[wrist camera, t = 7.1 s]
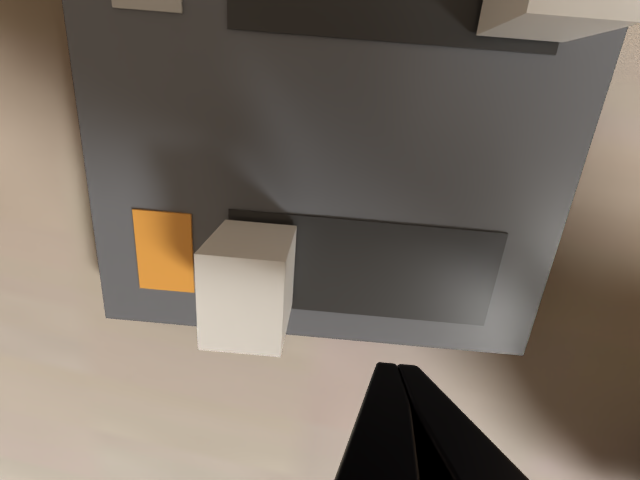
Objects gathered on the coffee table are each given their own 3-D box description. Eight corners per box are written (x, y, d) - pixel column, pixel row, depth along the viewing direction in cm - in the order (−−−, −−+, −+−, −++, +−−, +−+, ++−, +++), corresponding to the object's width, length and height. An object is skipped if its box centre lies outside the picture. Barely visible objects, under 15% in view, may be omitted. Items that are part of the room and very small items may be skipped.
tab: (292, 304, 14) (280, 357, 11) (225, 298, 14) (197, 349, 11) (296, 225, 13) (285, 262, 10) (225, 219, 13) (193, 253, 10)
